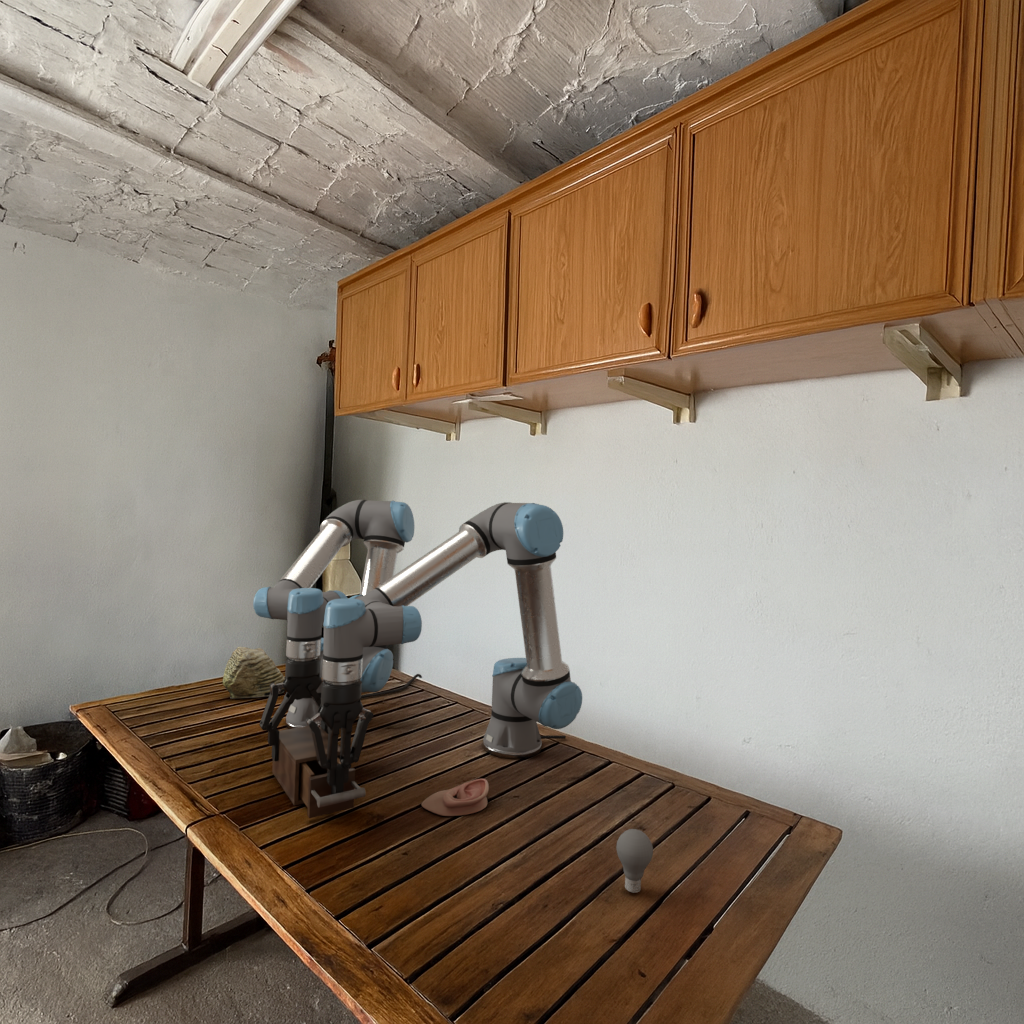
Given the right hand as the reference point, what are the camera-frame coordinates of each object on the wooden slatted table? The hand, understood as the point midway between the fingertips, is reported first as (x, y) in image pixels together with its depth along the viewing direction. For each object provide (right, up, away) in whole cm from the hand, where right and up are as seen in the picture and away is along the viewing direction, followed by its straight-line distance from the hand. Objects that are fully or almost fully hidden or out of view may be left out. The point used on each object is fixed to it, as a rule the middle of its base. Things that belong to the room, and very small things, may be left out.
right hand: (336, 799), depth 123 cm
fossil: (-47, -1, +75) cm, 88 cm away
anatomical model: (+22, -6, +10) cm, 25 cm away
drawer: (-5, -3, +7) cm, 9 cm away
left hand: (-14, +1, +21) cm, 25 cm away
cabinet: (-11, -4, +16) cm, 20 cm away
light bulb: (+54, -7, -18) cm, 57 cm away
